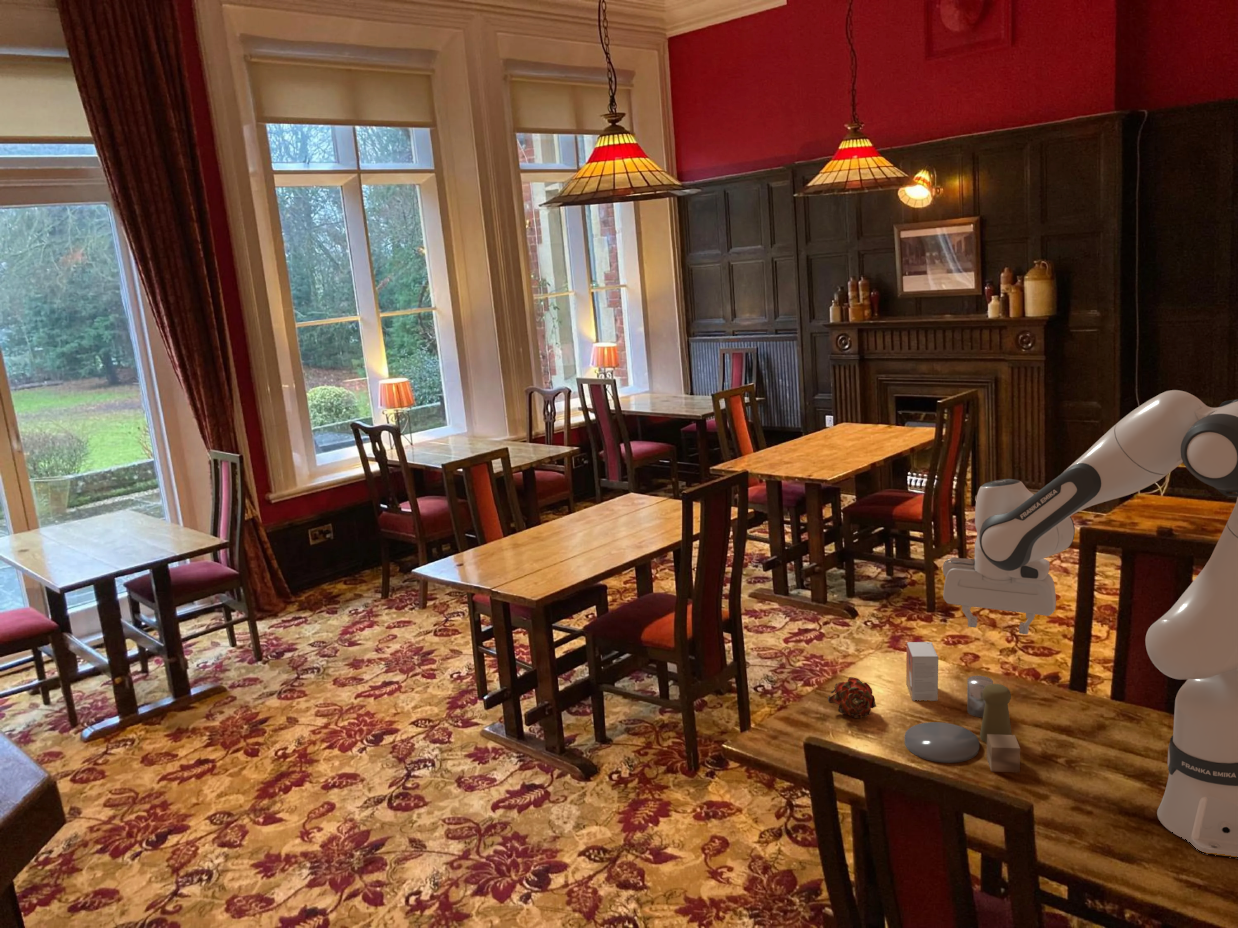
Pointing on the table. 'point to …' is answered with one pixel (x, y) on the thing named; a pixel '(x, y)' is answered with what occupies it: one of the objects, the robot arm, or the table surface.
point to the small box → (922, 671)
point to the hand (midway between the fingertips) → (997, 629)
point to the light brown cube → (1003, 753)
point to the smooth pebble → (941, 742)
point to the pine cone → (853, 698)
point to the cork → (996, 711)
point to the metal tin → (976, 694)
